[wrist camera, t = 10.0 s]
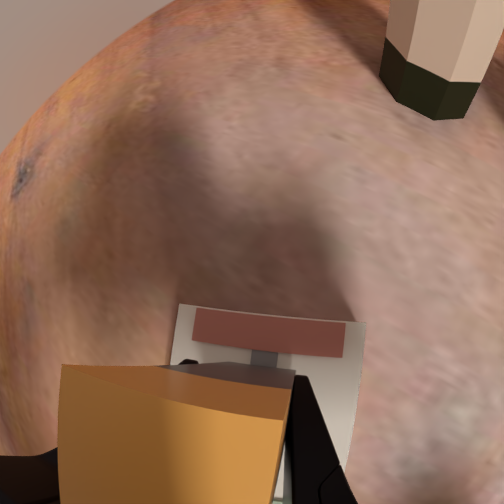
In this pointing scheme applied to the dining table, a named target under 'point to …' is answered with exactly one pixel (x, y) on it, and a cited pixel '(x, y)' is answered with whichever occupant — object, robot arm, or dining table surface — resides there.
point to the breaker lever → (172, 433)
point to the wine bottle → (439, 53)
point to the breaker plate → (283, 358)
